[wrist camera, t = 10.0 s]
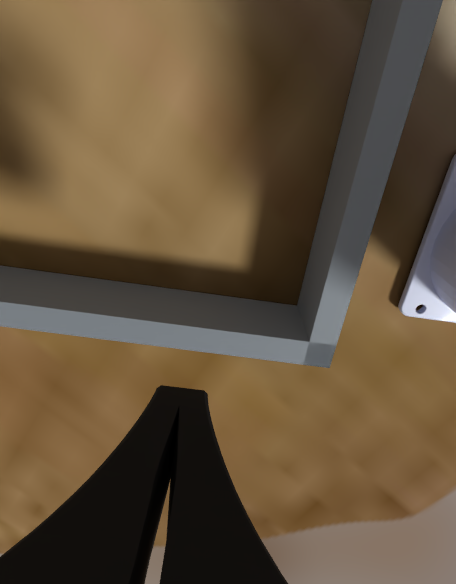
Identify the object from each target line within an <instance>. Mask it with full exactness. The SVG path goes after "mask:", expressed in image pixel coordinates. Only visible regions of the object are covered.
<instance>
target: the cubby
mask: <svg viewBox="0 0 456 584" xmlns="http://www.w3.org/2000/svg"><path fill="white" fill-rule="evenodd" d="M442 1H443V0H372V4H371V8H370V12H369V16H368V20H367V24H366V28H365V32H364V36H363V40H362V44H361V48H360V53H359V57H358V61H357V65H356V69H355V73H354V77H353V81H352V85H351V89H350V93H349V97H348V101H347V105H346V109H345V113H344V117H343V121H342V125H341V130H340V134H339V138H338V142H337V146H336V150H335V154H334V158H333V162H332V166H331V170H330V174H329V178H328V182H327V186H326V190H325V194H324V198H323V203H322V207H321V211H320V215H319V219H318V223H317V227H316V231H315V235H314V239H313V243H312V247H311V251H310V255H309V259H308V263H307V267H306V271H305V275H304V280H303V284H302V288H301V292H300V296H299V300H298V304H297V306H296V305H289V304H282V303H274V302H267V301H259V300H252V299H245V298H237V297H230V296H222V295H215V294H208V293H200V292H193V291H185V290H178V289H170V288H163V287H156V286H148V285H141V284H133V283H126V282H119V281H111V280H104V279H96V278H89V277H82V276H74V275H67V274H59V273H52V272H45V271H37V270H30V269H22V268H15V267H8V266H0V326H3V327H11V328H19V329H27V330H35V331H43V332H50V333H58V334H66V335H74V336H82V337H90V338H98V339H106V340H113V341H121V342H129V343H137V344H145V345H153V346H161V347H169V348H177V349H184V350H192V351H200V352H208V353H216V354H224V355H232V356H240V357H247V358H255V359H263V360H271V361H279V362H287V363H295V364H303V365H310V366H318V367H326V368H329V367H330V364H331V361H332V358H333V354H334V351H335V348H336V345H337V341H338V338H339V335H340V332H341V328H342V325H343V322H344V319H345V315H346V312H347V309H348V306H349V303H350V299H351V296H352V293H353V290H354V286H355V283H356V280H357V277H358V273H359V270H360V267H361V264H362V260H363V257H364V254H365V251H366V247H367V244H368V241H369V238H370V235H371V231H372V228H373V225H374V222H375V218H376V215H377V212H378V209H379V205H380V202H381V199H382V196H383V192H384V189H385V186H386V183H387V179H388V176H389V173H390V170H391V167H392V163H393V160H394V157H395V154H396V150H397V147H398V144H399V141H400V137H401V134H402V131H403V128H404V124H405V121H406V118H407V115H408V111H409V108H410V105H411V102H412V99H413V95H414V92H415V89H416V86H417V82H418V79H419V76H420V73H421V69H422V66H423V63H424V60H425V56H426V53H427V50H428V47H429V43H430V40H431V37H432V34H433V31H434V27H435V24H436V21H437V18H438V14H439V11H440V8H441V5H442Z"/></svg>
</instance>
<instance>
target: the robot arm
mask: <svg viewBox="0 0 456 584" xmlns="http://www.w3.org/2000/svg"><path fill="white" fill-rule="evenodd" d="M422 304H423V306H422V308H421V309H419V310H416V307H417V306H419V305H422ZM398 307H399V310H400V311H401V312H402V313H403V314H404V315H406V316H410V317H417V318H425V319H432V320H439V321H447V322H454V323H456V154H455V155H454V157H453V159H452V161H451V163H450V166H449V169H448V172H447V174H446V177H445V180H444V182H443V185H442V188H441V191H440V193H439V196H438V199H437V201H436V204H435V207H434V210H433V212H432V215H431V218H430V220H429V223H428V226H427V229H426V231H425V234H424V237H423V239H422V242H421V245H420V248H419V250H418V253H417V256H416V258H415V261H414V264H413V267H412V269H411V272H410V275H409V277H408V280H407V283H406V286H405V288H404V291H403V294H402V296H401V299H400V302H399V306H398ZM170 478H171V481H170ZM169 482H170V495H169V510H168V525H167V540H166V547H165V553H164V560H163V566H162V572H161V579H160V584H288V583H287V581H286V580H285V578H284V577H283V575H282V574H281V572H280V571H279V569H278V567H277V566H276V564H275V562H274V561H273V559H272V557H271V556H270V554H269V552H268V551H267V549H266V547H265V546H264V544H263V542H262V541H261V539H260V537H259V535H258V534H257V532H256V530H255V528H254V526H253V524H252V522H251V520H250V519H249V517H248V515H247V513H246V511H245V509H244V507H243V505H242V503H241V500H240V498H239V496H238V494H237V492H236V490H235V487H234V485H233V483H232V480H231V478H230V475H229V473H228V470H227V468H226V465H225V463H224V460H223V457H222V454H221V451H220V448H219V445H218V442H217V439H216V436H215V432H214V429H213V425H212V421H211V416H210V412H209V406H208V394H207V393H206V392H205V391H203V390H195V389H187V388H179V387H170V386H162V385H161V386H160V387H158V388H157V389H156V391H155V393H154V395H153V397H152V399H151V400H150V402H149V404H148V405H147V407H146V409H145V410H144V411H143V413H142V414H141V416H140V417H139V419H138V420H137V422H136V423H135V424H134V426H133V427H132V428H131V430H130V431H129V432H128V434H127V435H126V436H125V438H124V439H123V440H122V441H121V443H120V444H119V445H118V446H117V447H116V449H115V450H114V451H113V452H112V453H111V454H110V456H109V457H108V458H107V459H106V460H105V461H104V463H103V464H102V465H101V466H100V467H99V468H98V469H97V470H96V471H95V473H94V474H93V475H92V476H91V477H90V478H89V479H88V480H87V481H86V482H85V483H84V484H83V485H82V486H81V487H80V488H79V489H78V490H77V491H76V492H75V493H74V494H73V495H72V496H71V497H70V498H69V499H68V500H67V501H65V502H64V503H63V504H62V505H61V506H60V507H59V508H58V509H57V510H56V511H55V512H54V513H53V514H51V515H50V516H49V517H48V518H47V519H46V520H45V521H44V522H42V523H41V524H40V525H39V526H38V527H37V528H35V529H34V530H33V531H32V532H31V533H29V534H28V535H27V536H26V537H24V538H23V539H22V540H21V541H19V542H18V543H17V544H16V545H14V546H13V547H12V548H11V549H9V550H8V551H7V552H6V553H4V554H3V555H2V556H1V557H0V584H144V583H145V578H146V574H147V569H148V565H149V560H150V556H151V552H152V548H153V545H154V541H155V537H156V533H157V529H158V525H159V521H160V517H161V513H162V509H163V506H164V502H165V498H166V494H167V490H168V486H169Z"/></svg>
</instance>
